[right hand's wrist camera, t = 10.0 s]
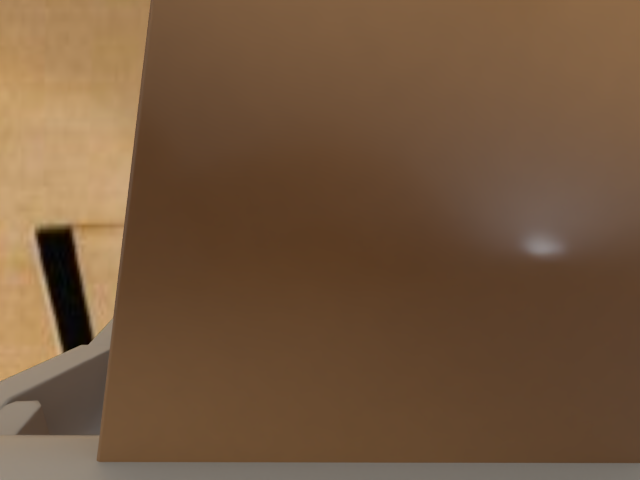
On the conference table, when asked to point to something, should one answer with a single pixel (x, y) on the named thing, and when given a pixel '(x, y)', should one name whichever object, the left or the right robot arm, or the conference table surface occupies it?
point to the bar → (381, 235)
